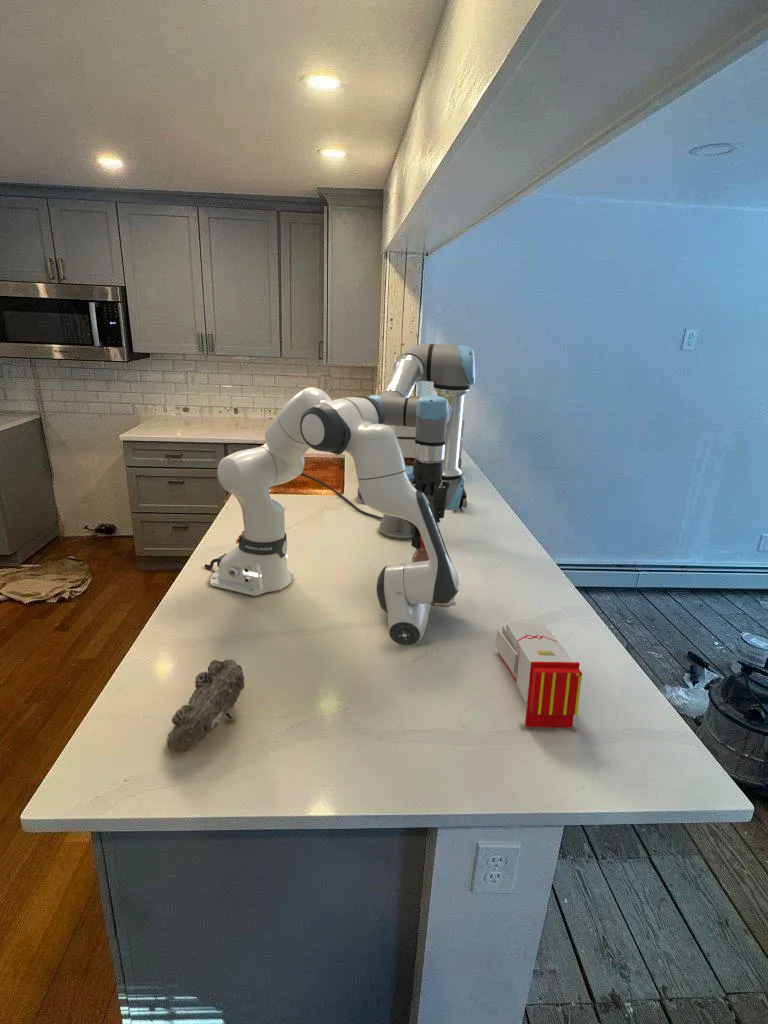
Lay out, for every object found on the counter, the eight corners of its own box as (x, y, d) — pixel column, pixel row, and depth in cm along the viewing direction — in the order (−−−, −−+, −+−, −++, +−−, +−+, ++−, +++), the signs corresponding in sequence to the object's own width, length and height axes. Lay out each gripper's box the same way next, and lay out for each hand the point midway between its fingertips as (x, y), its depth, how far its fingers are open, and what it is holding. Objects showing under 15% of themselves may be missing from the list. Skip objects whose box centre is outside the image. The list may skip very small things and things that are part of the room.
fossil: (192, 660, 117) (244, 628, 112) (224, 691, 120) (276, 661, 115) (142, 746, 98) (202, 712, 93) (182, 779, 101) (242, 748, 96)
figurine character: (467, 516, 223) (461, 500, 237) (469, 499, 220) (463, 483, 233) (450, 516, 223) (446, 499, 236) (452, 498, 220) (447, 483, 233)
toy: (542, 608, 134) (591, 669, 104) (537, 660, 136) (583, 734, 107) (491, 607, 133) (526, 668, 104) (487, 660, 136) (520, 733, 107)
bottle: (422, 594, 158) (426, 536, 152) (431, 602, 154) (436, 543, 148) (405, 597, 156) (409, 538, 150) (414, 606, 152) (419, 545, 146)
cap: (432, 546, 149) (433, 539, 148) (420, 549, 147) (420, 542, 146) (424, 541, 152) (425, 534, 151) (412, 543, 150) (412, 536, 149)
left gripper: (456, 595, 138) (459, 571, 151) (374, 585, 141) (384, 562, 154) (454, 618, 140) (457, 592, 153) (373, 607, 143) (383, 583, 156)
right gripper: (445, 452, 149) (438, 535, 157) (392, 459, 140) (388, 546, 148) (464, 459, 143) (456, 544, 151) (410, 467, 134) (404, 557, 142)
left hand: (420, 577), depth 154 cm, fingers closed on bottle, 5 cm apart
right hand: (422, 545), depth 149 cm, fingers closed on cap, 4 cm apart
